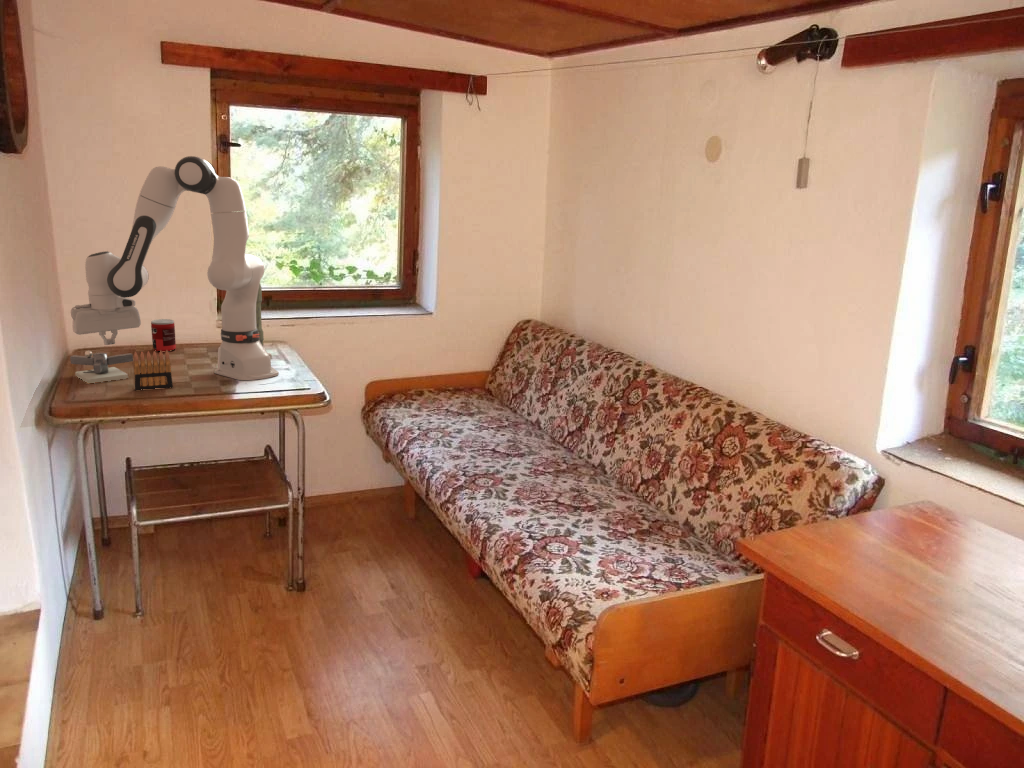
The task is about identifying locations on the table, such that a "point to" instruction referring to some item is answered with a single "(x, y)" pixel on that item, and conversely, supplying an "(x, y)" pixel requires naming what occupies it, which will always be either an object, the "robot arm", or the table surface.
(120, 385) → the table surface
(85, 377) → the stand plate
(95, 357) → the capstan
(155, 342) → the canned food
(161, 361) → the ammunition clip
